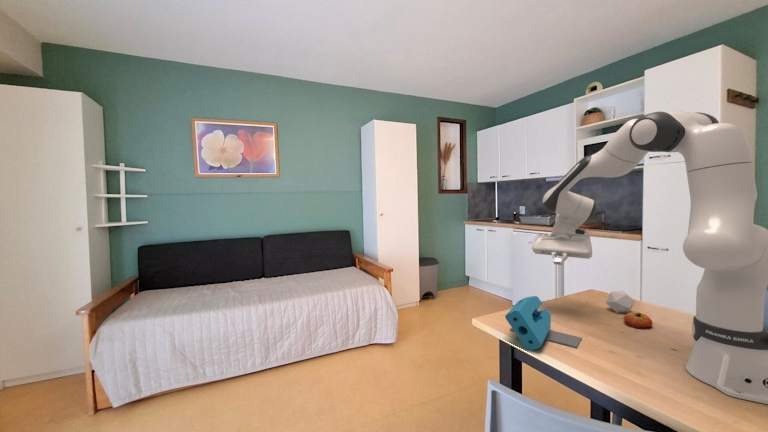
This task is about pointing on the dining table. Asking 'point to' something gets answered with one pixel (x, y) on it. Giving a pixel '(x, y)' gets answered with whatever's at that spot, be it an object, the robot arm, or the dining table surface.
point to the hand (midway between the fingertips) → (557, 263)
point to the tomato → (637, 320)
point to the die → (620, 302)
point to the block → (529, 322)
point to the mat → (562, 338)
